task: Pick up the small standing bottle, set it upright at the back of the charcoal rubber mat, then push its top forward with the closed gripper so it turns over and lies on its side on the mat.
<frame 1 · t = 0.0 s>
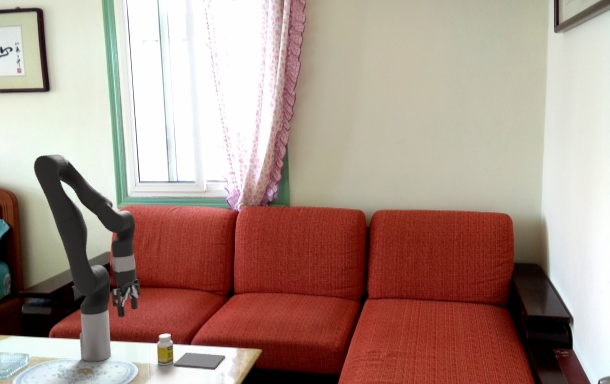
hand: (128, 312, 191), 17 cm above the table, tool pointing down, fingers open, 8 cm apart
rubber mat: (199, 361, 190), on the table
supplement bottle: (165, 363, 189), on the table
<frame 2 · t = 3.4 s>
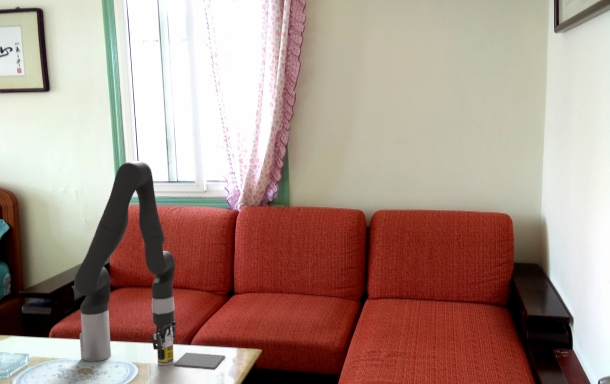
hand: (165, 355, 189), 2 cm above the table, tool pointing down, fingers closed on supplement bottle, 5 cm apart
supplement bottle: (165, 363, 189), on the table, touching gripper
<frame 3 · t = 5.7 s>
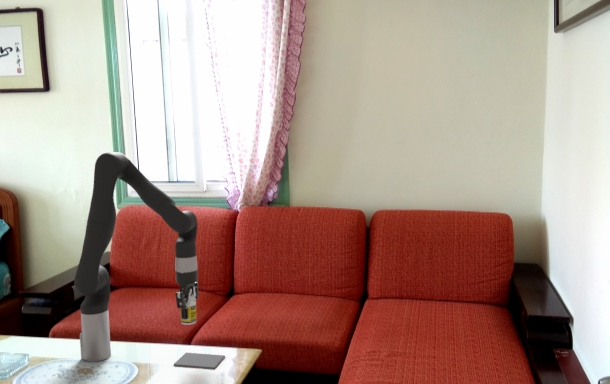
hand: (188, 315, 189), 16 cm above the table, tool pointing down, fingers closed on supplement bottle, 5 cm apart
supplement bottle: (188, 323, 189), point 14 cm above the table, touching gripper
when the fingers open (4 cm above the table, at t = 8.3 s): supplement bottle drops 1 cm, resting on rubber mat.
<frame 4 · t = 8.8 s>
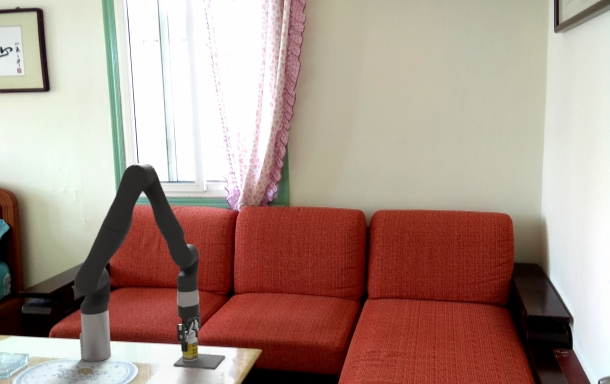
hand: (190, 346, 190), 5 cm above the table, tool pointing down, fingers open, 8 cm apart
supplement bottle: (190, 359, 191), resting on rubber mat
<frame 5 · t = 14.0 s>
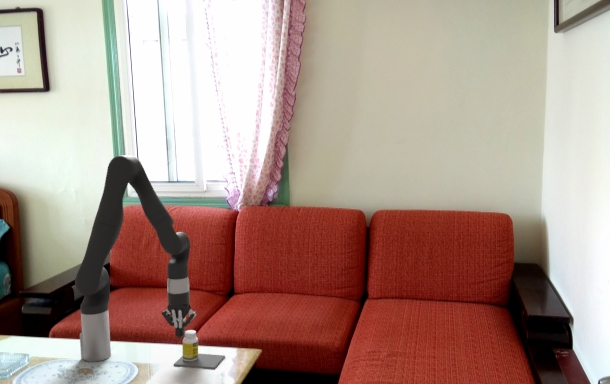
hand: (180, 337, 190), 8 cm above the table, tool pointing down, fingers closed
supplement bottle: (190, 359, 191), resting on rubber mat, touching gripper
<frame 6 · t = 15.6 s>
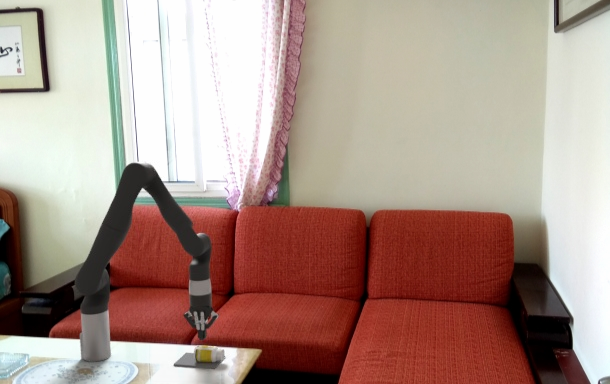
hand: (202, 339, 189), 8 cm above the table, tool pointing down, fingers closed
supplement bottle: (195, 353, 189), point 3 cm above the table, touching rubber mat
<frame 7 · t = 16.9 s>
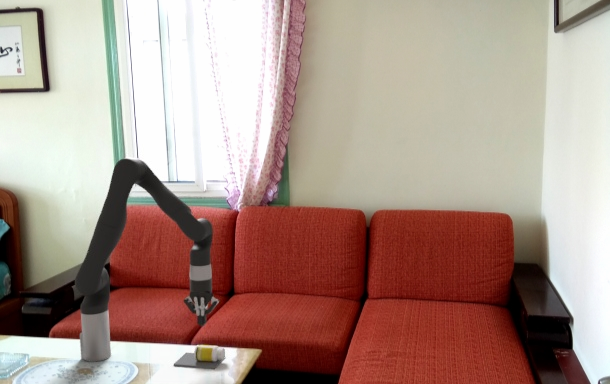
hand: (201, 325, 188), 13 cm above the table, tool pointing down, fingers closed
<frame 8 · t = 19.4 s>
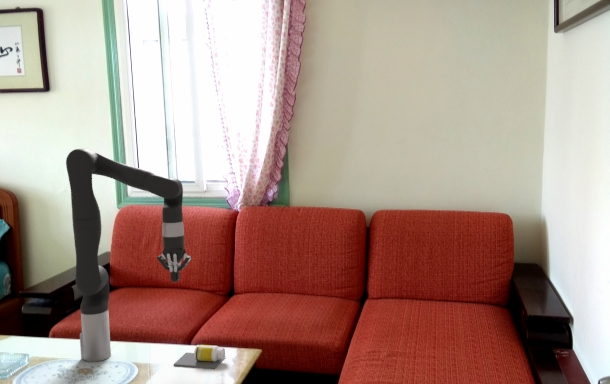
hand: (175, 281, 194), 27 cm above the table, tool pointing down, fingers closed
nothing on the table moved.
at the end: supplement bottle tilted 90°; supplement bottle inside the target area (3.6 cm from its centre), point 3.3 cm above the table; the gripper is holding nothing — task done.
